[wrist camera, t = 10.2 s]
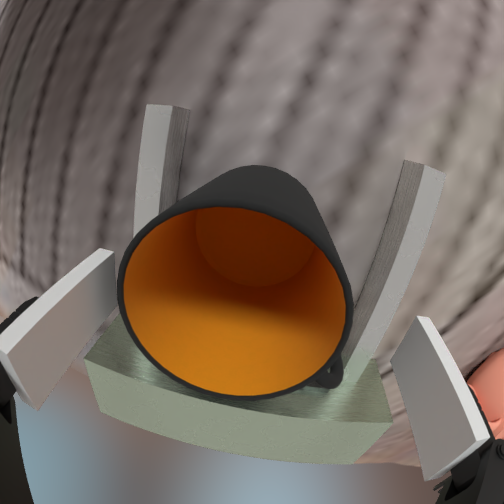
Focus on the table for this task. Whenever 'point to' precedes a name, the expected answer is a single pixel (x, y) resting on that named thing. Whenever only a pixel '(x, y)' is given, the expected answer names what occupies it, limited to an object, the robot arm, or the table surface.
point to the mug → (239, 289)
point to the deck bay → (287, 406)
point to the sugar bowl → (491, 391)
